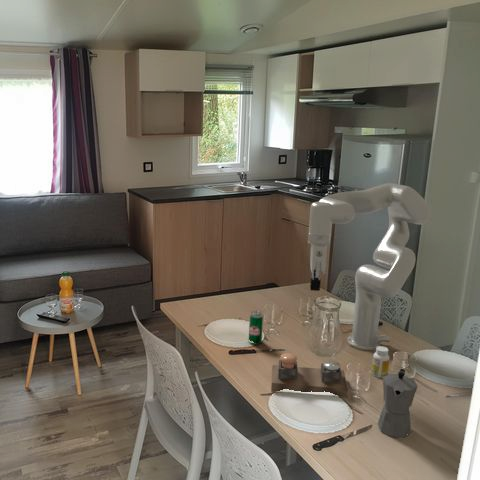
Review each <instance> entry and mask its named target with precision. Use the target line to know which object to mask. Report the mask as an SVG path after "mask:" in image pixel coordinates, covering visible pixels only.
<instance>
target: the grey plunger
mask: <svg viewBox="0 0 480 480" xmlns="http://www.w3.org/2000/svg"><path fill="white" fill-rule="evenodd" d="M323 364H324V365H323V367H324V369H325V371H326V372H337V371H338V370H339V369H341V365H340V363H339V362H338V361H335V360H325V361H324V362H323Z"/></svg>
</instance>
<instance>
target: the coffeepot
mask: <svg viewBox="0 0 480 480" xmlns="http://www.w3.org/2000/svg"><path fill="white" fill-rule="evenodd" d="M382 382H383V383H382V387H383V388H382V389H383V401H384V405H383V406H382V408H381V413H380V415H379V418H378V421H377V426H378V429H379V431H380V432H381V433H383V434H384V435H386V436H388V435H389V436H388V437H391V436H392V437H391V438H395V437H403V438H406V437H407V436H406V435H407V434H408V435H410V433H412V431H411V414H410V413H411V412H410V407H412V404H413V402H414V398H415V396H416V392H417V389H418V384H417V383H416V381H415V380H414V378H412V377H409V376H406V369H404V368H400V370H399V371H398V373H397V374H395V373H388V374H387V376H386V377H384V378H382ZM405 436H406V437H405Z"/></svg>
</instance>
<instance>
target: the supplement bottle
mask: <svg viewBox="0 0 480 480" xmlns="http://www.w3.org/2000/svg"><path fill="white" fill-rule="evenodd" d="M389 366H390V355H389V348H388V347H386V346H381V345H380V346H378V347H377V348H376V349H375V352H374V353H373V357H372V364H371V375H372V376H374V377H376V378H380V379H381V378H382V379H383V378H384V377H386V376H387V375H389Z"/></svg>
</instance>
